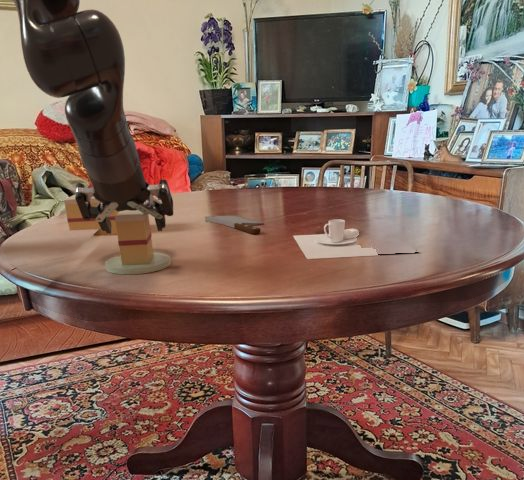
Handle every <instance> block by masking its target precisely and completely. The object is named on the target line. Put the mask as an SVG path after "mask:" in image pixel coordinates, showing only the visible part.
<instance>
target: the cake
mask: <svg viewBox="0 0 524 480" xmlns="http://www.w3.org/2000/svg"><path fill="white" fill-rule="evenodd" d="M75 195H76V193H75V194H73V195H71V196H68V197H67V198H65V199H63V202H64V203H63V204H64V208H65V213H66V218H67V219H66V220H67V224H68V229H69V231H85V230H86V231H87V230H88V231H89V230H96V231H95V232H94V233H93V234H92V235H97V236H113V235H114V234H116V235H117V228H116V222H115V215H116V214H117V213H119V212H120V211H117V210H113V212H112V213H111V214H110V215H109V219H110V221H111V225H112V228H111V234H107V233H106V231H103V230H102V229H101V228H100V225H99V223H98V222H97V221H96V220H95V219H93V218H91V219H90V220H84V219H83V217H82V215H81V212H80V209H79V207H78V204H77V202H76V199H75ZM99 202H100V201H98V200H97V199H95V198H94V197H91V200H90V203H91V206H93V207H96V206H97V204H98V203H99ZM144 205H145V203H144Z"/></svg>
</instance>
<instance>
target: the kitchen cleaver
mask: <svg viewBox="0 0 524 480" xmlns="http://www.w3.org/2000/svg"><path fill="white" fill-rule="evenodd" d="M204 222H207V223H214V224H219V225H223V226H227V227H230V228H233V229H236V230H239V231H242V232H245V233H248V234H251V235H260V233H261V228H260V227H256V226H259V225H264V224H265V223H264V222H261V221H258V220H255V219H252V218H247V217H244V216H239V215H205V216H204Z"/></svg>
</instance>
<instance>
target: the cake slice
mask: <svg viewBox="0 0 524 480" xmlns="http://www.w3.org/2000/svg"><path fill="white" fill-rule="evenodd" d="M149 215H150V214H148V215H146V214H144V213H142V212H141V211H139V210H134V211H131V210H124V211H120V212H119V213H117V214H116V215H115V222H116V228H117V234H116V236H117V244H118V248H119V254H120V255H119V256H121V261H122V265H133V264H149V263H150V261H151V259H152V257H153V253H154V247H153V239H152V232H151V224H150V217H149Z"/></svg>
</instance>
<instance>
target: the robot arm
mask: <svg viewBox="0 0 524 480" xmlns="http://www.w3.org/2000/svg"><path fill="white" fill-rule="evenodd" d="M12 1H13V3H14V6H15V8H16V11H17V16H18V17H17V18H18V21H19V33H20V42H21V43H20V45H21V50H22V56H23V60H24V64H25V67H26V71H27V72H28V75H29V76H30V78H31V80H32V82H33V83H34V84H35V86H36V87H37V88H38V89H39V90H40V91H42V92H43V93H44V94H46V95H48V96H50V97H52V98H56V99H62V98H66V97H67V99H66V100H65V104H64V114H65V118H66V121H67V123H68V126H69V128H70V130H71V133H72V135H73V139H74V140H75V142H76V146H77V149H78V153H79V157H80V159H81V164H82V166H83V168H84V169H85V171H86V174H87V177H88V178H89V181H90V183H91V186H92V187H86V186H85V184H84V183H81V182H78V183H76V184H75V194H76V195H75V194H74V195H75V199H76V202H77V204H78V207H79V209H80V212H81V215H82V217H83V219H84V220H90V219H91V218H93V219H95V220H96V221H97V222H98V223H99V225H100V228H101V229H102V230H103V231H106V233H107V234H111V228H112V225H111V221H110V219H109V215H110V214H111V213H112V212H113V210H117V211H124V210H131V211H134V210H139V211H141V212H142V213H144V214H146V215H150V216H152V217H153V218H154V222H155V225H156V230H157V232H163V229H166V225H167V224H166V216H167V217H172V216H174V199H173V197H172V193H171V189H170V187H169V183H168V181H167V180H166V179H163V178H162V179H160V180H159V181H158V184H149V183H148V181H147V180H146V179H145V174H144V172H143V168H142V164H141V160H140V157H139V152H138V150H137V145H136V143H135V140H134V137H133V135H132V133H131V131H130V127H129V124H128V120H127V118H126V114H125V109H124V87H125V86H124V85H125V74H126V57H125V49H124V44H123V40H122V37H121V34H120V32H119V30H118V28H117V26H116V25H115V24H114V22H113V21H112V19H110V17H109V16H108V15H106V14H105V13H103V12H102V11H100V10H97V9H84V10H81V11H79V9H80V1H81V0H12ZM154 196H155V197H156V198H157V199H156V198H155V197H154ZM91 197H94V198H95V199H97V200H98V201H100V202H99V203H98V204H97V206H96V207H93V206H91V203H90V200H91ZM144 203H145V205H144Z"/></svg>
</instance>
